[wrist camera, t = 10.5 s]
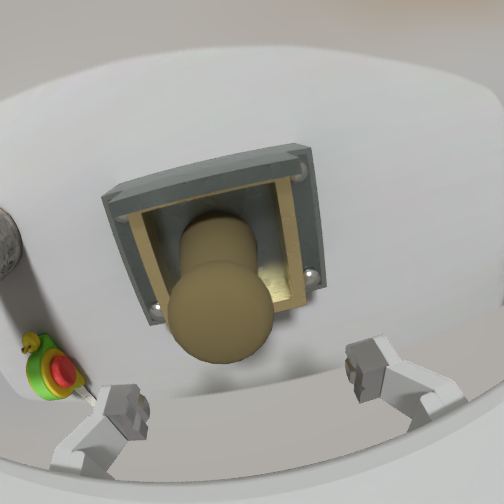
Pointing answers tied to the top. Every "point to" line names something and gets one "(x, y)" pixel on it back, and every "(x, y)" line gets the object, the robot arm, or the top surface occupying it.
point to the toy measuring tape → (52, 370)
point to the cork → (219, 291)
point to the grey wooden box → (223, 200)
